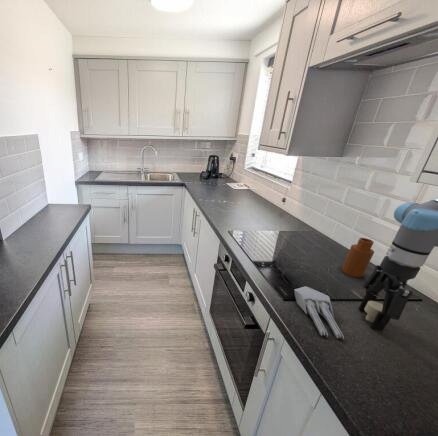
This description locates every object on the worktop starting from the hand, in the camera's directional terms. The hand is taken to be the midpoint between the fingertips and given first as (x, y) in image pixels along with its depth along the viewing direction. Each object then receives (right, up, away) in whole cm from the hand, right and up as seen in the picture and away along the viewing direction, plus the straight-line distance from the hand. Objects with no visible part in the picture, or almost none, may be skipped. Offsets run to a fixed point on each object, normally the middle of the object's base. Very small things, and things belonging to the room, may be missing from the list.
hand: (369, 319), depth 76 cm
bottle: (+17, +10, +25) cm, 32 cm away
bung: (0, 0, 0) cm, 0 cm away
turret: (-17, +1, +2) cm, 17 cm away
